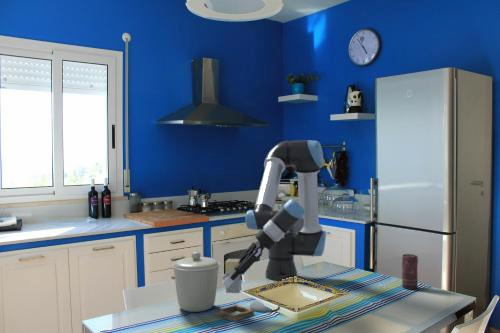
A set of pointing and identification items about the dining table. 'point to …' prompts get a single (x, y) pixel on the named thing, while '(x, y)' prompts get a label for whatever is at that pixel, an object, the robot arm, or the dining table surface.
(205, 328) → the dining table surface
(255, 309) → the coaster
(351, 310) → the dining table surface
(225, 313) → the socket frame
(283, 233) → the robot arm
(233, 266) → the yellow and grey cylinder
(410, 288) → the can
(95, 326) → the dining table surface
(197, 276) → the canister
